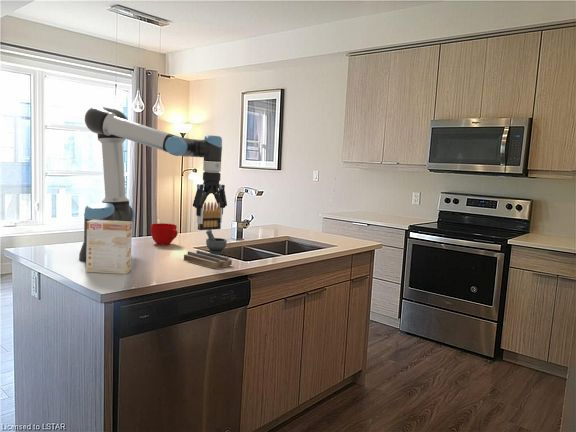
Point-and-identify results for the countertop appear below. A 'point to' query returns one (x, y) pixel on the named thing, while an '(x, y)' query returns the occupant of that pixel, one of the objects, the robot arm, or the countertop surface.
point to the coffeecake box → (108, 246)
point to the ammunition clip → (210, 217)
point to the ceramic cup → (163, 233)
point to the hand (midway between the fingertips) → (209, 222)
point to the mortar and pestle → (215, 243)
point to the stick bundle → (207, 259)
